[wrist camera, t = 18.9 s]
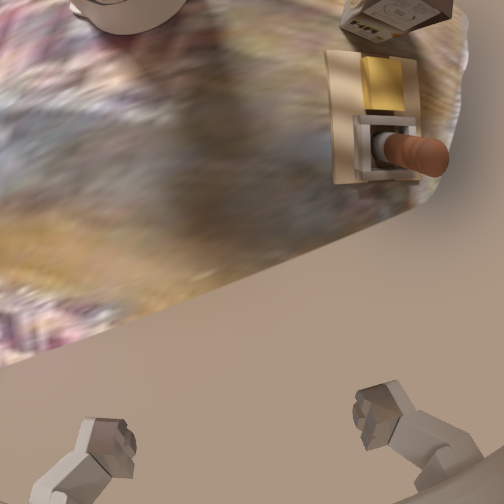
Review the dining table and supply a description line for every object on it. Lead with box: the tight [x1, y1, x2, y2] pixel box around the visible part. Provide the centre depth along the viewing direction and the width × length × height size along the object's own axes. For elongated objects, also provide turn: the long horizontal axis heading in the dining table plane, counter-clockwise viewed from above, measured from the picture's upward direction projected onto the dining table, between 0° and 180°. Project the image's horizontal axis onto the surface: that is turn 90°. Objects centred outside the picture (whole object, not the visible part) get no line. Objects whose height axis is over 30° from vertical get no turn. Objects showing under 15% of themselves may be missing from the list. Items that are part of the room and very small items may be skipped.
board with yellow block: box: [324, 50, 421, 184], centre depth 36 cm, size 18×14×4 cm
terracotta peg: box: [370, 131, 449, 177], centre depth 33 cm, size 4×4×12 cm
